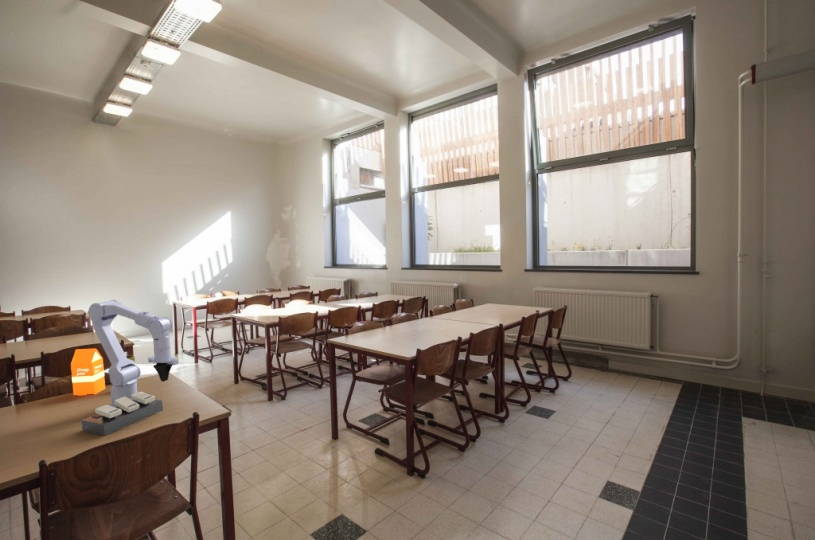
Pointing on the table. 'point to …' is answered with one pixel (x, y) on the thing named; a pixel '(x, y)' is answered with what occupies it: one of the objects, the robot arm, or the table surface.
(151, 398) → the white rectangular block
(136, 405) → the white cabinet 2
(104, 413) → the rocker
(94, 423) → the grey slab
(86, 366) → the orange juice
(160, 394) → the table surface
